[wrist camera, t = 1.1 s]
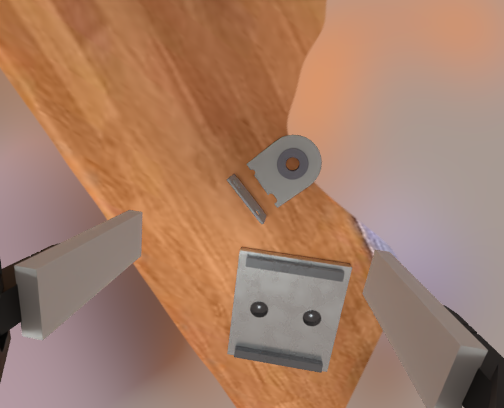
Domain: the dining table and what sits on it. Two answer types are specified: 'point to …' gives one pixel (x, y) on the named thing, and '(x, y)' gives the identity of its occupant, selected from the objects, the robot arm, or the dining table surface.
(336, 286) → the mount plate
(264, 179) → the bracket
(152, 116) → the dining table surface
